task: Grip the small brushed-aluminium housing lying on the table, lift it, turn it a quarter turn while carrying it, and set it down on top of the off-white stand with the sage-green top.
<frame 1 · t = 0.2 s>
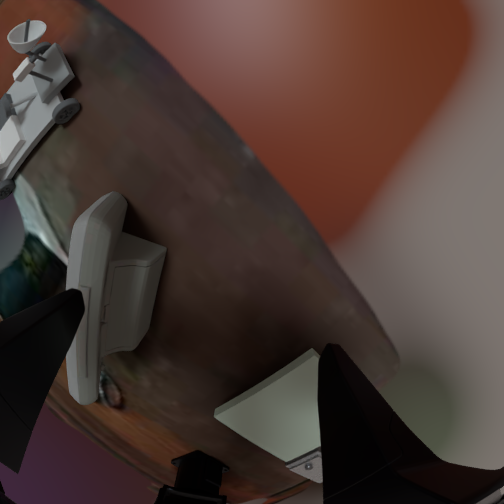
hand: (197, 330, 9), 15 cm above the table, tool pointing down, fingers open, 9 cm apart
stand: (294, 395, 28), on the table
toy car: (33, 112, 21), on the table
digital clock: (120, 275, 25), on the table
housing: (314, 450, 31), on the table
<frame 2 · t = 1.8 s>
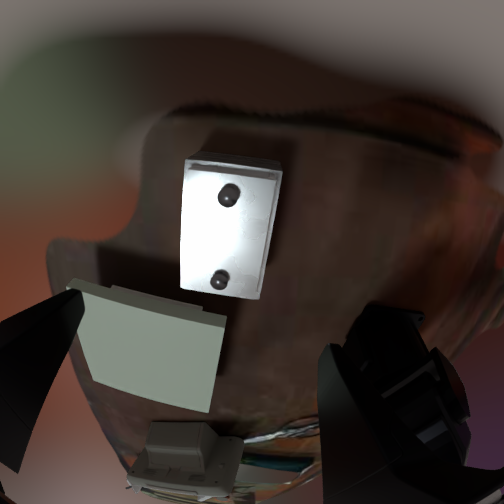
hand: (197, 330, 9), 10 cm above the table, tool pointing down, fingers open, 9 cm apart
stand: (156, 329, 24), on the table
digital clock: (190, 432, 34), on the table
housing: (231, 214, 19), on the table
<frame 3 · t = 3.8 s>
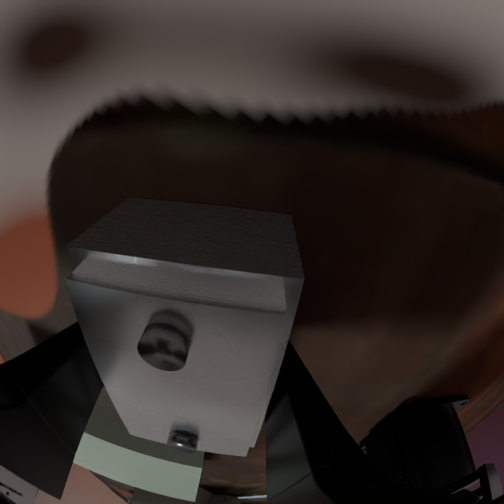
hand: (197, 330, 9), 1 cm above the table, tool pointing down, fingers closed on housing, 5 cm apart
stand: (121, 418, 15), on the table
digital clock: (180, 487, 26), on the table
housing: (202, 310, 10), on the table, touching gripper
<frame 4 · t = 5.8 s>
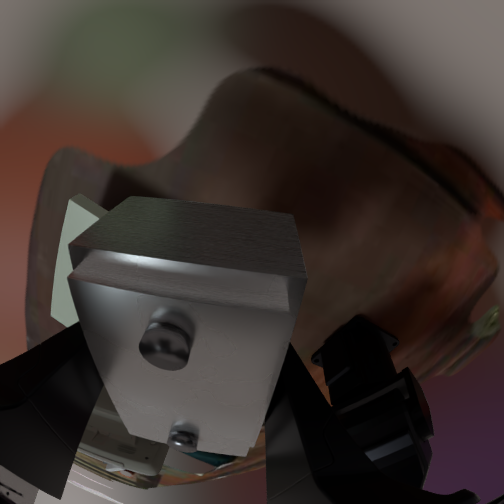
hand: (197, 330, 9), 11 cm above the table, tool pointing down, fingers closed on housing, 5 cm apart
stand: (139, 279, 22), on the table
digital clock: (123, 399, 32), on the table
housing: (203, 309, 10), point 10 cm above the table, touching gripper
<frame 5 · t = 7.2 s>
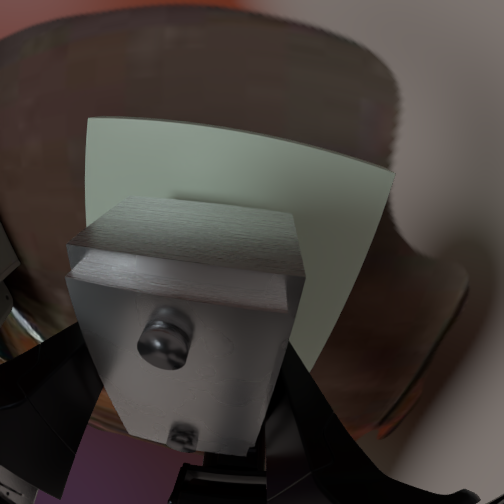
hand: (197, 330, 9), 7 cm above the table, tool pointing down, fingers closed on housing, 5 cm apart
stand: (224, 237, 15), on the table
housing: (202, 309, 10), point 6 cm above the table, touching gripper
when the fingers open (6 cm above the table, at t = 8.1 s): housing drops 1 cm, resting on stand.
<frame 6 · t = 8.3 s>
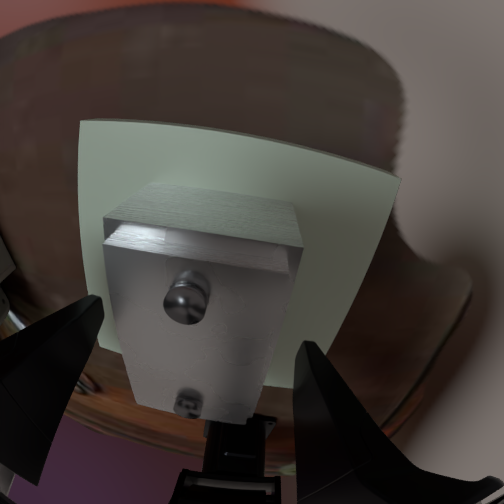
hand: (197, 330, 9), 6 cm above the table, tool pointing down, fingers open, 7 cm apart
stand: (223, 243, 15), on the table
housing: (209, 287, 11), point 4 cm above the table, touching stand
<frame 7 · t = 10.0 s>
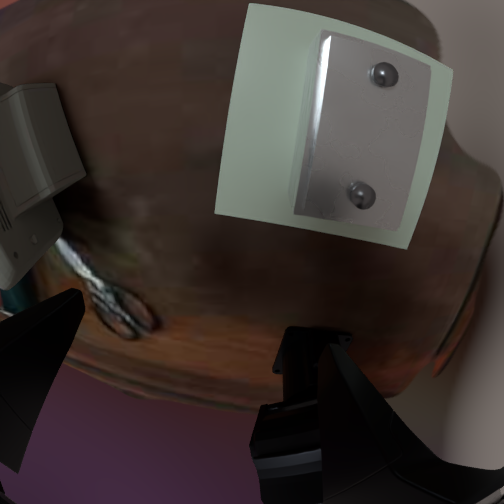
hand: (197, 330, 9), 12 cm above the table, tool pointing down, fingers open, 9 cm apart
stand: (329, 124, 16), on the table
digital clock: (41, 149, 18), on the table
housing: (346, 127, 13), point 4 cm above the table, touching stand
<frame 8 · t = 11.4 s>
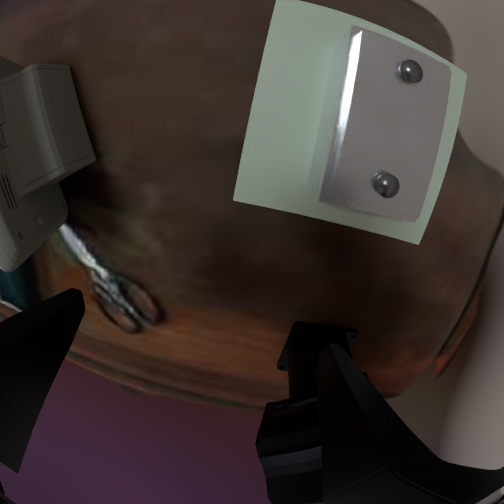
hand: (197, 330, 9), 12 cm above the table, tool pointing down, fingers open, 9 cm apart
stand: (346, 119, 16), on the table
digital clock: (50, 132, 17), on the table
housing: (366, 122, 13), point 4 cm above the table, touching stand
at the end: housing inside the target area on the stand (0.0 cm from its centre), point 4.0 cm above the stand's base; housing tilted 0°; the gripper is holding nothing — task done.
